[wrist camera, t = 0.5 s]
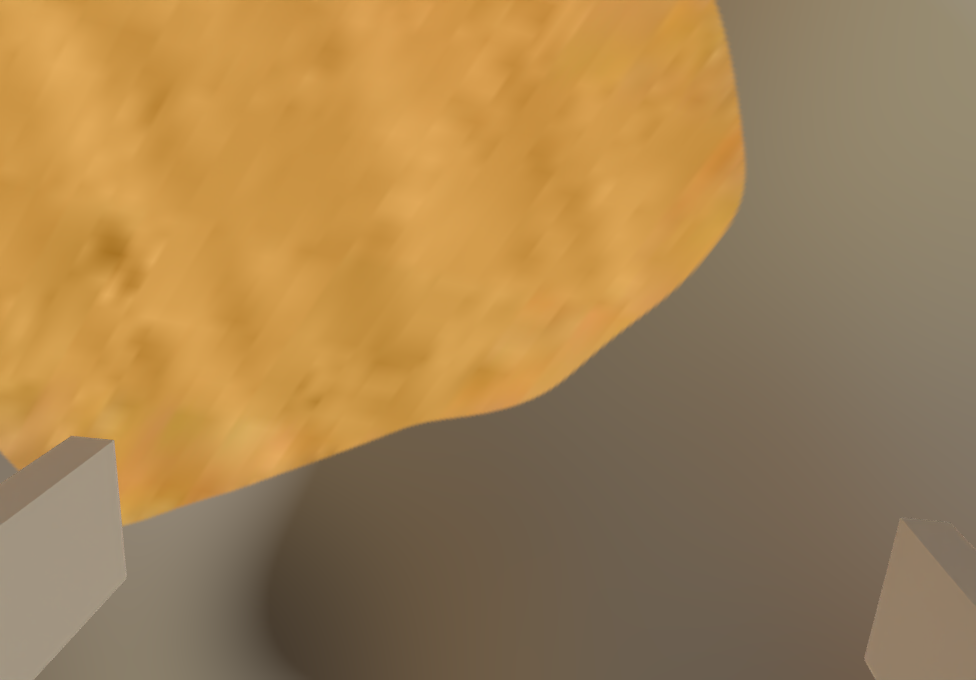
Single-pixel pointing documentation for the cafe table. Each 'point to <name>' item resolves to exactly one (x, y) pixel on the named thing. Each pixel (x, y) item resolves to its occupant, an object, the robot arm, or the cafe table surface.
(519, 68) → the cafe table surface
